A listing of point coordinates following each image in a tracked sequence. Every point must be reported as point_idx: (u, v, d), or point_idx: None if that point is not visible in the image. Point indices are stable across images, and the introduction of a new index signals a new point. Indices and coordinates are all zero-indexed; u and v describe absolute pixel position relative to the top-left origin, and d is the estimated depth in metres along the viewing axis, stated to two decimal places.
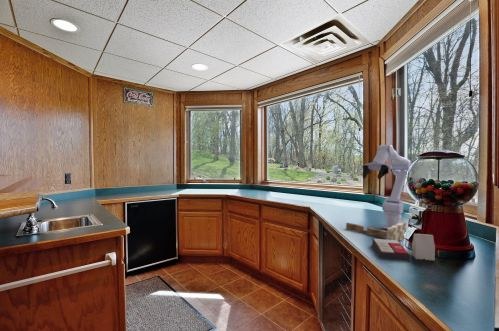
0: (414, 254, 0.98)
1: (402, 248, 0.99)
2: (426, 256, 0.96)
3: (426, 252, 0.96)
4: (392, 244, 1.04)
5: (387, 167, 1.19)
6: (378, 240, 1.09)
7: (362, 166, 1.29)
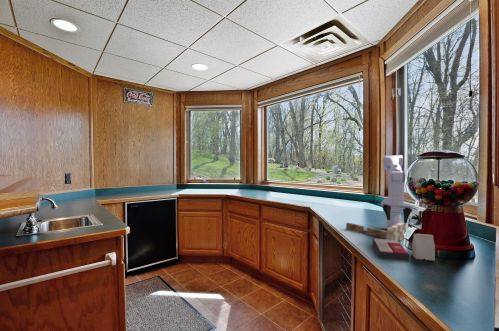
0: (414, 254, 0.98)
1: (401, 248, 0.99)
2: (426, 256, 0.96)
3: (426, 252, 0.96)
4: (392, 244, 1.04)
5: (410, 209, 1.12)
6: (378, 240, 1.09)
7: None
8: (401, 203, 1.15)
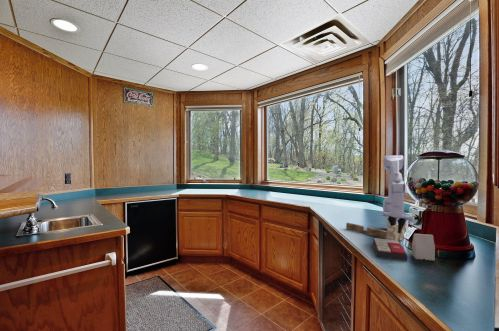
0: (414, 254, 0.98)
1: (400, 248, 1.00)
2: (426, 256, 0.96)
3: (426, 252, 0.96)
4: (391, 244, 1.04)
5: (404, 220, 1.14)
6: (378, 240, 1.10)
7: (381, 215, 1.23)
8: (401, 214, 1.15)
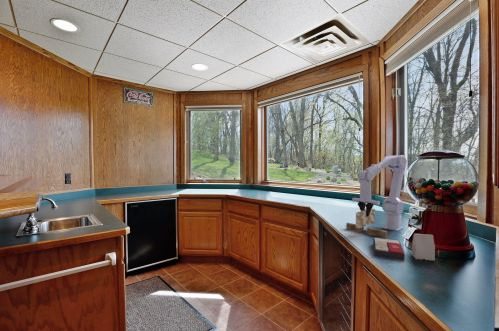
0: (414, 254, 0.98)
1: (399, 248, 1.00)
2: (426, 256, 0.96)
3: (426, 252, 0.96)
4: (390, 244, 1.04)
5: (371, 204, 1.27)
6: (378, 239, 1.10)
7: None
8: (368, 199, 1.28)
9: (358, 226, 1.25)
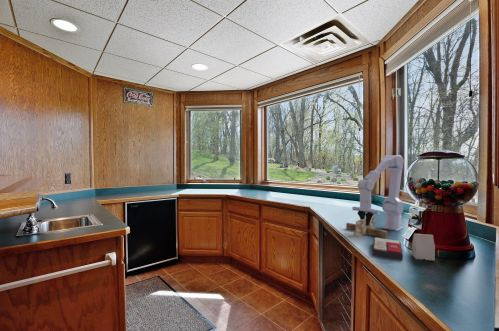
0: (414, 254, 0.98)
1: (398, 247, 1.00)
2: (426, 256, 0.96)
3: (426, 252, 0.96)
4: (390, 243, 1.05)
5: (371, 213, 1.27)
6: (378, 239, 1.10)
7: None
8: (368, 208, 1.28)
9: (358, 235, 1.25)
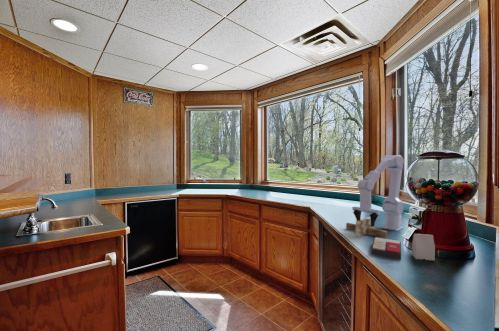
0: (414, 254, 0.98)
1: (397, 247, 1.00)
2: (426, 256, 0.96)
3: (426, 252, 0.96)
4: (389, 243, 1.05)
5: (376, 214, 1.25)
6: (378, 239, 1.11)
7: None
8: (368, 208, 1.28)
9: (358, 235, 1.25)
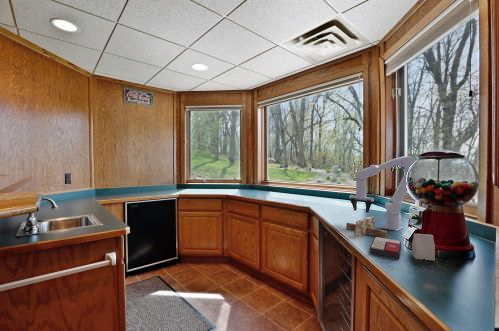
0: (414, 254, 0.98)
1: (396, 247, 1.00)
2: (426, 256, 0.96)
3: (426, 252, 0.96)
4: (389, 243, 1.05)
5: (370, 201, 1.38)
6: (379, 238, 1.11)
7: (349, 198, 1.48)
8: (364, 196, 1.41)
9: (358, 235, 1.25)
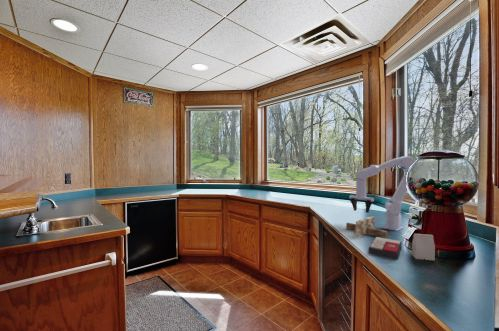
0: (414, 254, 0.98)
1: (395, 247, 1.01)
2: (426, 256, 0.96)
3: (426, 252, 0.96)
4: (389, 243, 1.05)
5: (370, 201, 1.38)
6: (379, 238, 1.11)
7: (349, 198, 1.48)
8: (364, 196, 1.41)
9: (358, 235, 1.25)
